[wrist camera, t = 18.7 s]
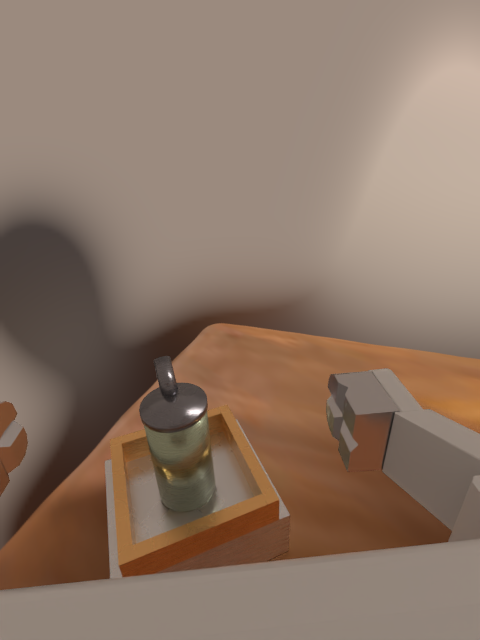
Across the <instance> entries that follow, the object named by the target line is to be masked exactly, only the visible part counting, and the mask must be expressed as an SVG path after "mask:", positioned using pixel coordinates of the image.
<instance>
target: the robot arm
mask: <svg viewBox="0 0 480 640" xmlns="http://www.w3.org/2000/svg"><path fill="white" fill-rule="evenodd" d="M328 388H329V390H330V392H331V396H330V397H329V399H328V400H327V406H326V413H327V421H328V425H329V429H330V431H331V434H332V436H333V437H334V438H336V439H337V440H338V441H339V448H338V451H339V453H340V455H341V458H342V460H343V462H344V465H345V467H346V469H347V472H358V471H373V470H383V471H382V472H383V473H385V474H386V475H387V476H388V477H389V478H390V479H392V480H393V481H394V482H395V483H396V484H397V485H399V486H400V487H401V488H402V489H403V490H405V491H406V492H407V493H408V494H409V495H410V496H412V497H413V498H414V499H415V500H416V501H417V502H419V503H420V504H421V505H422V506H423V507H424V508H426V509H427V510H428V511H429V512H430V513H431V514H433V515H434V516H435V517H436V518H437V519H439V520H440V521H441V522H442V523H443V524H444V525H446V526H447V527H448V528H449V529H450V530H451V531H452V533H451V535H450V538H449V541H448V542H445V543H436V544H427V545H417V546H408V547H399V548H389V549H380V550H371V551H361V552H352V553H343V554H333V555H324V556H315V557H306V558H296V559H287V560H278V561H269V562H259V563H250V564H241V565H232V566H223V567H213V568H204V569H195V570H186V571H176V572H167V573H158V574H149V575H139V576H130V577H121V578H111V579H102V580H93V581H83V582H74V583H64V584H55V585H46V586H36V587H27V588H18V589H8V590H0V640H480V434H479V433H477V432H475V431H473V430H471V429H468V428H466V427H464V426H462V425H460V424H458V423H456V422H454V421H452V420H450V419H448V418H446V417H444V416H442V415H440V414H438V413H436V412H434V411H432V410H430V409H426V410H423V408H422V407H421V406H420V405H419V404H418V402H417V401H416V400H415V399H414V398H413V396H412V395H411V394H410V393H409V391H408V390H407V389H406V388H405V387H404V385H403V384H402V383H401V382H400V380H399V379H398V378H397V377H396V376H395V374H394V373H393V372H392V371H391V370H389V369H387V368H386V369H377V370H368V371H364V372H353V373H341V374H331V375H330V377H329V382H328ZM16 415H17V412H16V410H15V408H14V406H13V404H12V403H9V402H6V401H3V402H0V496H1V494H2V493H3V491H4V489H5V488H6V486H7V485H8V483H9V481H10V480H9V475H8V473H9V472H11V471H12V470H13V469H15V468H16V467H17V466H19V465H20V463H21V461H22V460H23V458H24V456H25V453H26V449H27V444H28V442H27V434H26V432H25V429H24V427H23V426H21V425H20V424H18V423H17V422H15V421H14V420H15V418H16Z"/></svg>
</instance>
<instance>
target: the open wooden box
mask: <svg viewBox="0 0 480 640" xmlns="http://www.w3.org/2000/svg"><path fill="white" fill-rule="evenodd" d="M207 415H208V423H209V432H210V440H211V449H212V457H213V466H214V474H215V490H214V492H213V494H212V496H211V498H210V499H209V500H208V501H207V502H206V503H205V504H204V505H203V506H201V507H199V508H197V509H195V510H192V511H188V512H177V511H173V510H171V509H169V508H167V507H166V506H165V505H164V504H163V502H162V501H161V498H160V494H159V490H158V485H157V481H156V477H155V472H154V468H153V463H152V459H151V454H150V450H149V445H148V441H147V437H146V432H145V429H144V430H140V431H137V432H133V433H130V434H127V435H123V436H120V437H117V438H113V439H110V446H111V459H110V460H107V461H105V475H106V497H107V519H108V541H109V562H110V579H111V578H121V577H130V576H139V575H149V574H158V573H167V572H176V571H186V570H195V569H204V568H213V567H223V566H232V565H241V564H250V563H259V562H266V561H268V560H270V559H272V558H274V557H276V556H279V555H281V554H283V553H285V552H287V551H289V529H290V514H289V512H288V510H287V509H286V507H285V505H284V503H283V501H282V500H281V498H280V496H279V494H278V492H277V491H276V489H275V487H274V485H273V483H272V482H271V480H270V478H269V476H268V474H267V473H266V471H265V469H264V467H263V465H262V464H261V462H260V460H259V458H258V456H257V455H256V453H255V451H254V449H253V447H252V446H251V444H250V442H249V440H248V438H247V437H246V435H245V433H244V431H243V429H242V428H241V426H240V424H239V422H238V420H235V418H234V416H233V414H232V412H231V410H230V409H229V407H228V405H224V406H221V407H218V408H214V409H211V410H208V411H207Z"/></svg>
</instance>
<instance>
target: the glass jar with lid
mask: <svg viewBox="0 0 480 640" xmlns="http://www.w3.org/2000/svg"><path fill="white" fill-rule="evenodd" d="M154 365H155V369H156V373H157V378H158V382H159V388H157V389H155V390H153V391H152V392H150V393H149V394H148V395H147V396H146V397H145V398H144V399H143V400H142V402H141V404H140V409H139V411H140V416H141V420H142V422H143V424H144V428H145V432H146V437H147V441H148V445H149V450H150V454H151V459H152V463H153V468H154V472H155V477H156V481H157V485H158V490H159V494H160V498H161V501H162V502H163V504H164V505H165V506H166V507H167V508H169V509H171V510H173V511H177V512H188V511H192V510H195V509H197V508H199V507H201V506H203V505H204V504H205V503H206V502H207V501H208V500H209V499H210V498H211V496H212V494H213V492H214V490H215V474H214V466H213V457H212V449H211V440H210V432H209V423H208V415H207V407H208V404H207V396H206V394H205V392H204V391H203V390H202V389H201V388H200V387H198V386H196V385H193V384H189V383H176V379H175V375H174V371H173V367H172V363H171V359H170V357H169V356H164V357H159V358H157V359H155V360H154Z"/></svg>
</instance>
